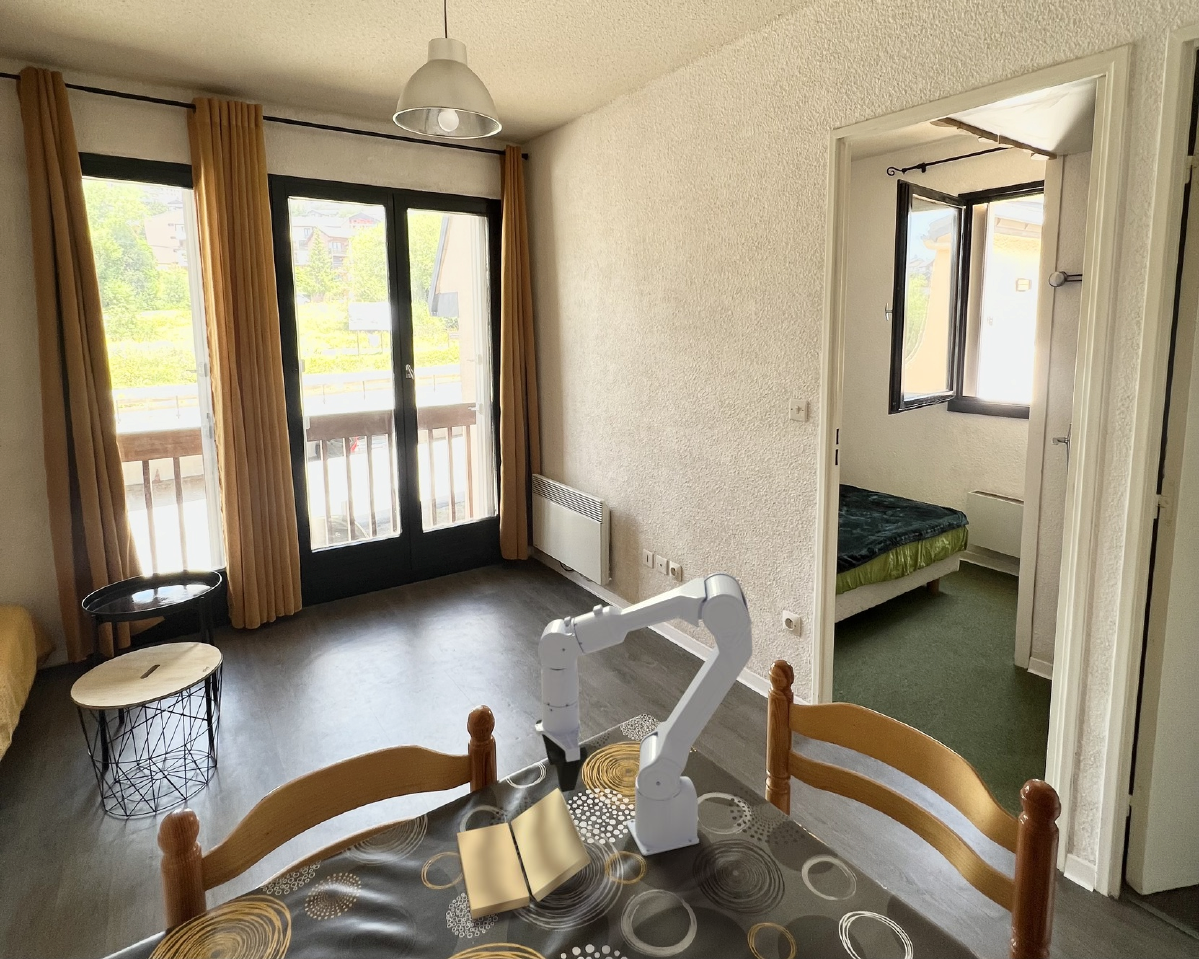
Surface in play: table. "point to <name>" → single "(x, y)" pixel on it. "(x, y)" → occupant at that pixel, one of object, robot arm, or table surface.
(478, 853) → the laid oak board
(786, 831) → the table surface
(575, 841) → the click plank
